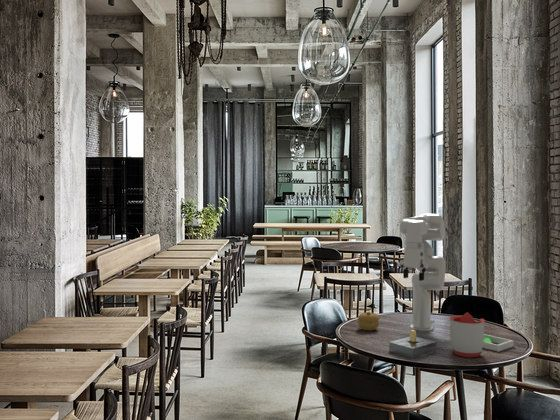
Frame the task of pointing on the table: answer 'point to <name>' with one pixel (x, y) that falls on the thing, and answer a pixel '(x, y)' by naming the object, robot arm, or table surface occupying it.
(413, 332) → the brass pin
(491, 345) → the frame
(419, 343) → the base block
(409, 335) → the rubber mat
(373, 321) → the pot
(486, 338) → the mechanical part
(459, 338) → the citrus juicer
